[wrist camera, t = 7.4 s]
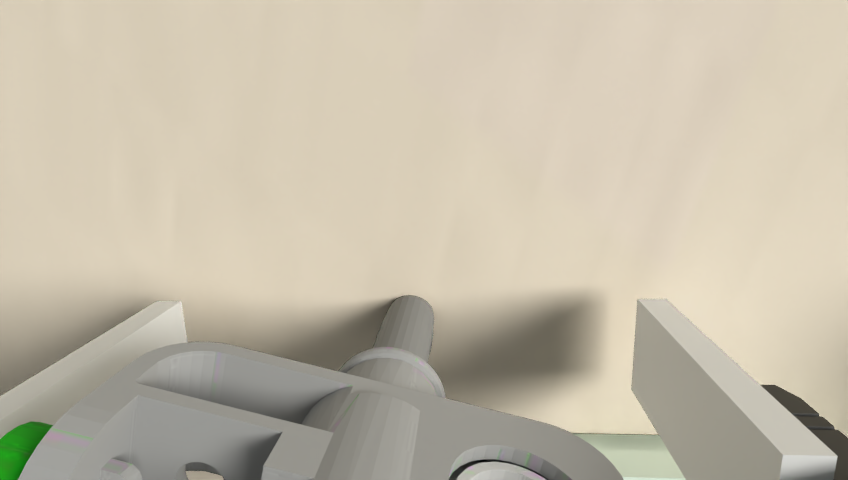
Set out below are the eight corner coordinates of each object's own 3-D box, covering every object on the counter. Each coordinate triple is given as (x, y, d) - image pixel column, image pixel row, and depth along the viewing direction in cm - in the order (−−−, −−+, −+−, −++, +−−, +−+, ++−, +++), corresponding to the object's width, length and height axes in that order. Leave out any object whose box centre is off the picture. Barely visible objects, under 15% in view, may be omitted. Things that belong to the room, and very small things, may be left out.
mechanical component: (261, 236, 16) (-63, 434, 6) (584, 315, 16) (775, 649, 6) (248, 322, 17) (-58, 617, 7) (556, 398, 16) (684, 814, 7)
